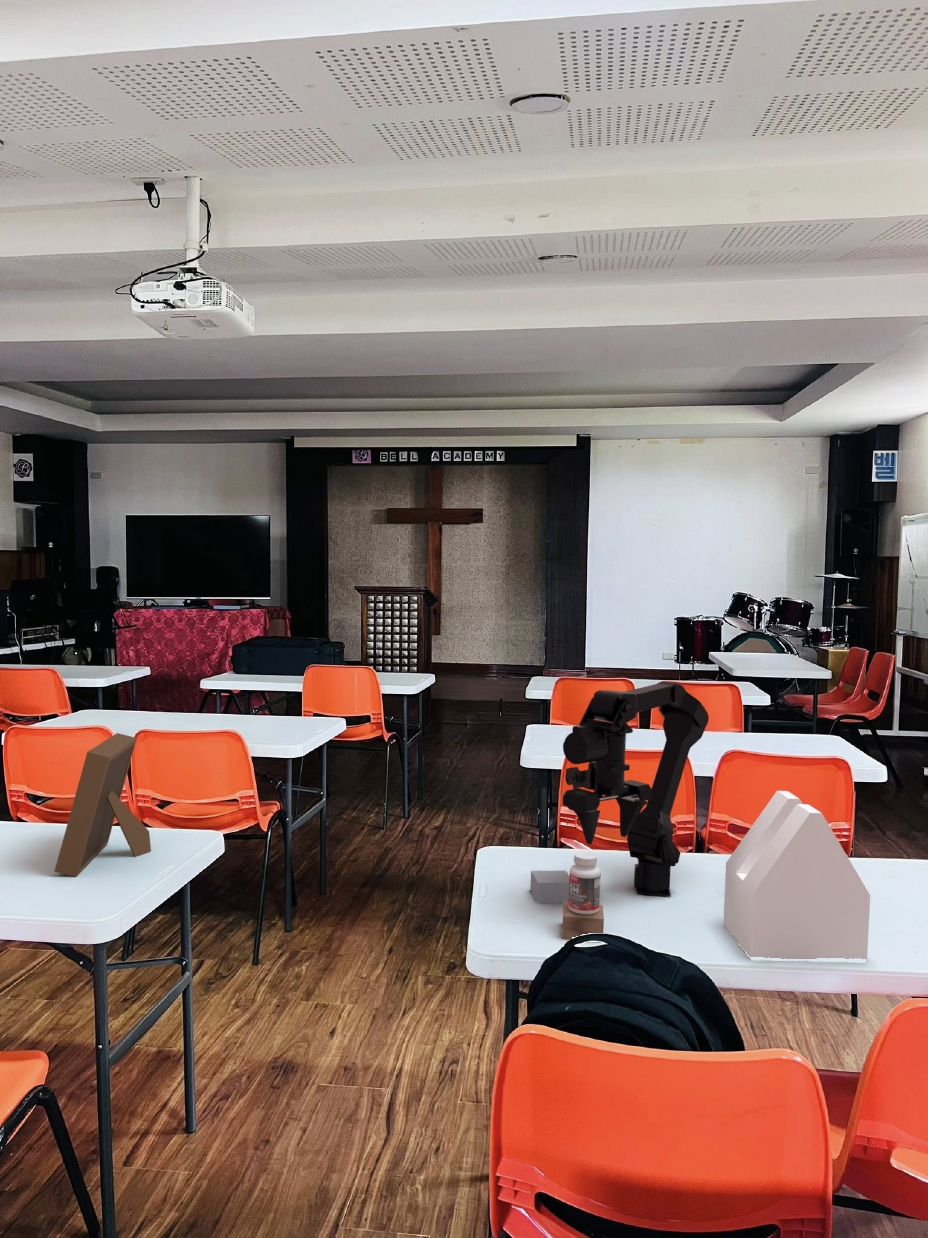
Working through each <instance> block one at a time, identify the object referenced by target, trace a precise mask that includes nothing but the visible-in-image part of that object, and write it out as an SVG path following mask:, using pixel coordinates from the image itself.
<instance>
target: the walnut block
mask: <svg viewBox="0 0 928 1238" xmlns="http://www.w3.org/2000/svg"><path fill="white" fill-rule="evenodd" d="M562 904H563V907H562V925H561V927H562V928H561V939H562V940H569V939H572V937H576V936H580V935H582V934H588V933H603V934H604V927H605V925H604V923H605V916H604V915H605V914H604V904H599V911H598V912H597V913H595V914H590V915H584V914H577V913H574V912H572V911H571V910H570V909H569V906H568V905H569V902H564V903H562Z"/></svg>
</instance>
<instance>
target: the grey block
mask: <svg viewBox="0 0 928 1238" xmlns="http://www.w3.org/2000/svg"><path fill="white" fill-rule="evenodd" d="M569 878H570V873H568V872H567V870H530V887H529V889H530V893H531V894H532V897H533V898H534V899H535V901H536V903H537V904H564V902H569Z"/></svg>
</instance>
